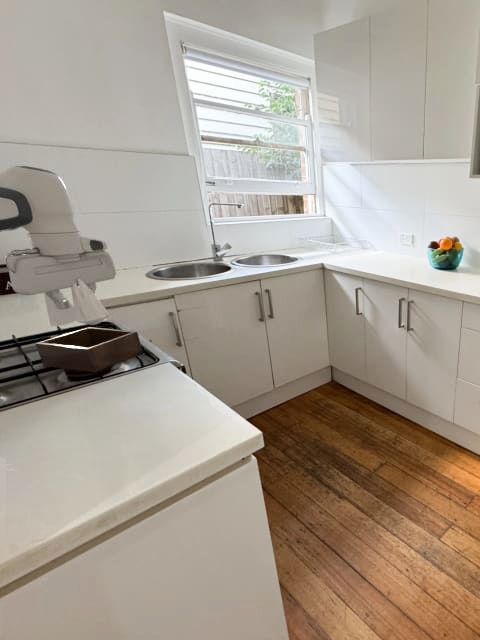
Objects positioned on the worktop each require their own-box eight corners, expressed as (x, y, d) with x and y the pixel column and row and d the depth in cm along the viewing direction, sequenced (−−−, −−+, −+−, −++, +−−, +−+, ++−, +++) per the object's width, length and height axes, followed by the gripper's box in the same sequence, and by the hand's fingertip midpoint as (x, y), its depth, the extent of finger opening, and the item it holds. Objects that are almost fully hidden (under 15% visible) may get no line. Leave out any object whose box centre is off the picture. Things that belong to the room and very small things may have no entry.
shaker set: (113, 321, 94) (99, 276, 90) (100, 326, 90) (85, 280, 86) (64, 321, 94) (48, 277, 90) (49, 327, 90) (32, 280, 86)
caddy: (95, 372, 88) (87, 349, 86) (43, 365, 91) (35, 343, 89) (143, 352, 99) (137, 331, 97) (95, 347, 103) (89, 326, 100)
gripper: (14, 251, 75) (37, 318, 80) (112, 241, 94) (127, 296, 99) (-10, 250, 76) (15, 316, 81) (92, 240, 95) (107, 294, 100)
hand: (77, 305), depth 90 cm, fingers closed on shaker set, 4 cm apart
